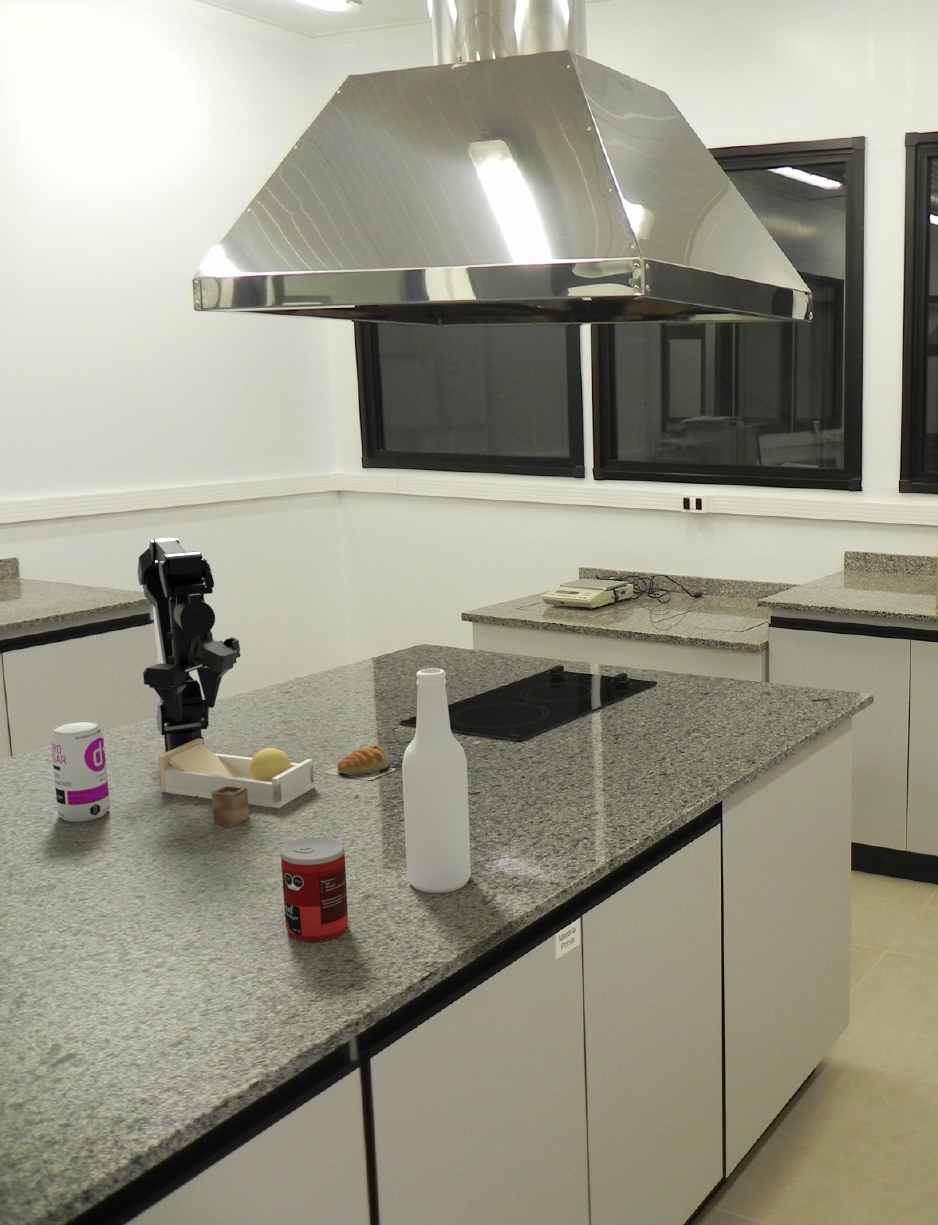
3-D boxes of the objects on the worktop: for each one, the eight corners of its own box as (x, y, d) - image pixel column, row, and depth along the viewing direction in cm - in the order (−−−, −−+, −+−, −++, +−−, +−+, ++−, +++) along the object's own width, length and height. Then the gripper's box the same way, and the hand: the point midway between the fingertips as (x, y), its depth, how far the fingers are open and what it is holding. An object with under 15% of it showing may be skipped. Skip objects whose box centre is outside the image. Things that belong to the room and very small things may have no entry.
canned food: (287, 918, 159) (282, 838, 157) (349, 914, 159) (344, 835, 157) (283, 945, 151) (278, 861, 149) (348, 941, 152) (343, 857, 150)
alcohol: (406, 871, 173) (397, 665, 167) (468, 867, 174) (461, 662, 168) (408, 896, 164) (398, 680, 159) (473, 892, 165) (466, 677, 159)
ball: (257, 798, 203) (246, 757, 202) (254, 791, 209) (243, 752, 209) (297, 785, 204) (287, 745, 204) (293, 779, 211) (283, 740, 210)
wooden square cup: (213, 823, 194) (211, 792, 193) (228, 814, 198) (226, 784, 197) (234, 826, 193) (232, 795, 192) (249, 817, 196) (247, 787, 195)
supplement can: (120, 808, 203) (112, 721, 200) (89, 825, 195) (81, 735, 192) (79, 804, 206) (71, 718, 203) (47, 821, 198) (38, 732, 195)
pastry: (352, 780, 214) (351, 759, 213) (328, 773, 218) (327, 752, 218) (392, 767, 220) (391, 747, 219) (369, 760, 225) (367, 740, 224)
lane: (161, 791, 210) (158, 755, 209) (200, 772, 220) (198, 738, 219) (278, 808, 200) (276, 770, 199) (314, 787, 210) (312, 751, 209)
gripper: (192, 639, 197) (199, 732, 199) (258, 617, 213) (264, 704, 216) (137, 635, 201) (145, 726, 204) (206, 614, 218) (212, 699, 221)
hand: (194, 714), depth 211 cm, fingers open, 9 cm apart
